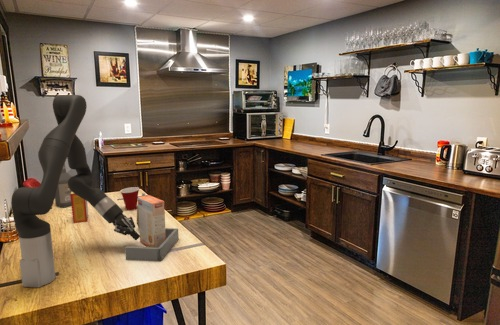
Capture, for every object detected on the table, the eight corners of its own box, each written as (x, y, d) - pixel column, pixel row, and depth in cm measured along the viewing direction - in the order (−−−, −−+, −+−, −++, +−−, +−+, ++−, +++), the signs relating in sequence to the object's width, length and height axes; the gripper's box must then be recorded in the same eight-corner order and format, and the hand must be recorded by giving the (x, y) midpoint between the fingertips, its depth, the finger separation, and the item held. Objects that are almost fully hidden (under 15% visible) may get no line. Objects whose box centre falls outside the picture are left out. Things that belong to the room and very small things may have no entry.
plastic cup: (119, 207, 203) (118, 188, 201) (138, 205, 208) (137, 186, 206) (122, 212, 194) (121, 192, 192) (142, 209, 199) (141, 189, 197)
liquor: (77, 204, 210) (72, 156, 205) (62, 208, 202) (57, 158, 197) (68, 202, 215) (64, 155, 210) (54, 206, 207) (49, 157, 202)
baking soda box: (75, 217, 186) (72, 189, 183) (88, 216, 188) (85, 187, 185) (73, 223, 177) (70, 193, 174) (87, 221, 179) (84, 192, 176)
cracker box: (167, 248, 146) (165, 200, 142) (154, 252, 142) (151, 203, 138) (152, 238, 156) (149, 194, 153) (139, 242, 152) (136, 196, 149)
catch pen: (160, 261, 134) (160, 249, 133) (125, 259, 135) (125, 247, 134) (178, 239, 156) (178, 228, 155) (148, 237, 157) (147, 227, 156)
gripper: (106, 208, 137) (136, 238, 138) (122, 199, 150) (150, 227, 151) (94, 220, 139) (125, 250, 139) (111, 210, 152) (139, 238, 152)
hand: (138, 238), depth 145 cm, fingers closed
